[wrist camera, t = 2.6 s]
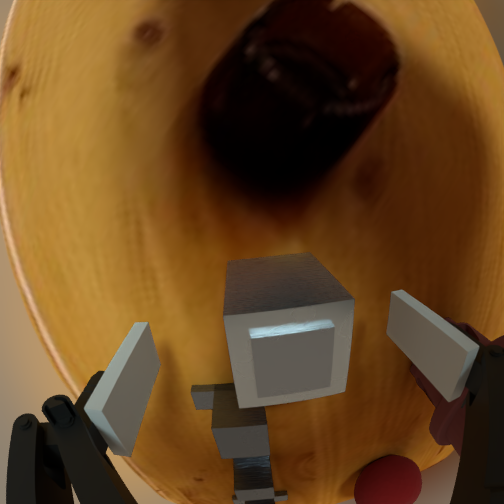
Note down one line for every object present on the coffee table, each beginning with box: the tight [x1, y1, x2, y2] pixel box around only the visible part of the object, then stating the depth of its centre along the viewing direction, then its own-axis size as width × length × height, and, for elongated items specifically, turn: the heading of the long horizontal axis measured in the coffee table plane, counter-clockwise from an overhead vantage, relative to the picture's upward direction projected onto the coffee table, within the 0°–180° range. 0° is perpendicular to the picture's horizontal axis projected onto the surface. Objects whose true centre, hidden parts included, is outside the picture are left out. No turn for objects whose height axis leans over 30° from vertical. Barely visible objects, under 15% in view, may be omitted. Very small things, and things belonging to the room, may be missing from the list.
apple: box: [354, 455, 422, 504], centre depth 20 cm, size 9×9×10 cm
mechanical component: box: [410, 317, 504, 456], centre depth 14 cm, size 12×10×10 cm
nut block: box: [223, 252, 355, 408], centre depth 14 cm, size 5×5×7 cm
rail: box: [191, 383, 288, 504], centre depth 20 cm, size 24×7×4 cm, turn 5°
